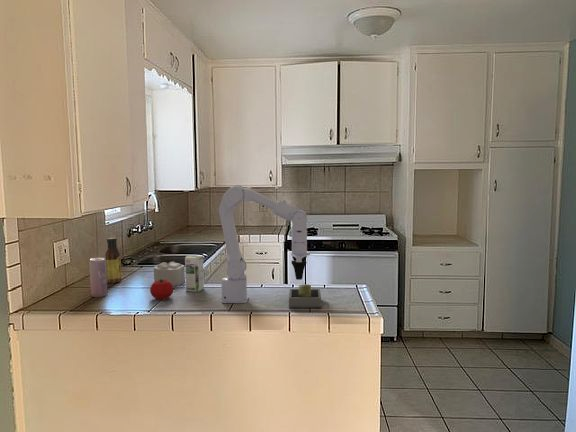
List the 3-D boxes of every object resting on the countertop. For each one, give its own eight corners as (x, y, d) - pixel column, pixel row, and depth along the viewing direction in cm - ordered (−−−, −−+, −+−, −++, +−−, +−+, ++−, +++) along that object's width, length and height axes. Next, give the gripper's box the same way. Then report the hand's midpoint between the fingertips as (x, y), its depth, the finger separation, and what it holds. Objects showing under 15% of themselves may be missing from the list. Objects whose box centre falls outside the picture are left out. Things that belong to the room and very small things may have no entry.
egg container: (176, 286, 188) (176, 266, 187) (149, 284, 190) (148, 265, 189) (187, 280, 198) (186, 261, 197) (160, 278, 200) (159, 260, 199)
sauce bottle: (123, 282, 195) (121, 238, 193) (108, 284, 191) (106, 239, 189) (119, 279, 200) (117, 236, 198) (105, 281, 197) (103, 238, 195)
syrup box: (185, 291, 180) (184, 257, 178) (192, 287, 185) (191, 254, 184) (197, 292, 178) (196, 257, 176) (204, 288, 184) (203, 254, 182)
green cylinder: (298, 303, 160) (298, 287, 159) (298, 299, 164) (298, 284, 164) (311, 303, 160) (311, 287, 159) (310, 299, 164) (310, 284, 164)
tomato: (145, 300, 168) (144, 280, 167) (160, 294, 176) (159, 275, 175) (164, 303, 164) (163, 282, 163) (178, 296, 172) (177, 276, 172)
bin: (288, 308, 157) (288, 298, 156) (289, 298, 168) (289, 288, 168) (321, 308, 156) (321, 298, 156) (319, 299, 168) (319, 289, 167)
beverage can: (102, 292, 179) (99, 256, 177) (110, 294, 176) (108, 258, 174) (88, 295, 174) (86, 259, 173) (96, 298, 171) (94, 261, 169)
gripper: (309, 245, 156) (309, 281, 158) (309, 238, 171) (309, 272, 172) (290, 245, 156) (290, 281, 158) (291, 238, 171) (292, 272, 172)
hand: (299, 276), depth 165 cm, fingers open, 7 cm apart
